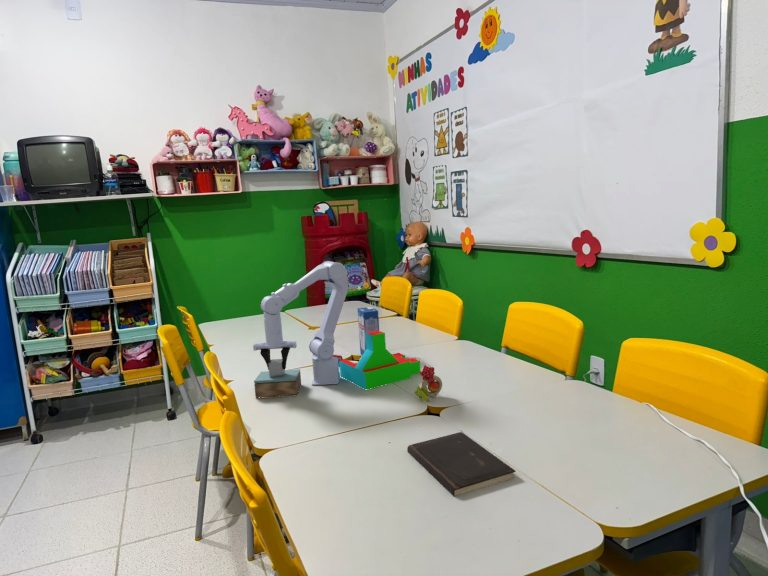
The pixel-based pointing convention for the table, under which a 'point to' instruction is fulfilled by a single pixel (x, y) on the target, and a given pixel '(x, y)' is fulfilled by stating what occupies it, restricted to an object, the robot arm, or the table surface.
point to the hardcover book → (460, 463)
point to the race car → (338, 357)
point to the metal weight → (276, 368)
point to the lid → (288, 376)
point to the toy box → (278, 388)
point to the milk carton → (367, 324)
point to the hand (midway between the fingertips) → (277, 368)
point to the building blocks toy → (378, 364)
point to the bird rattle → (428, 380)
